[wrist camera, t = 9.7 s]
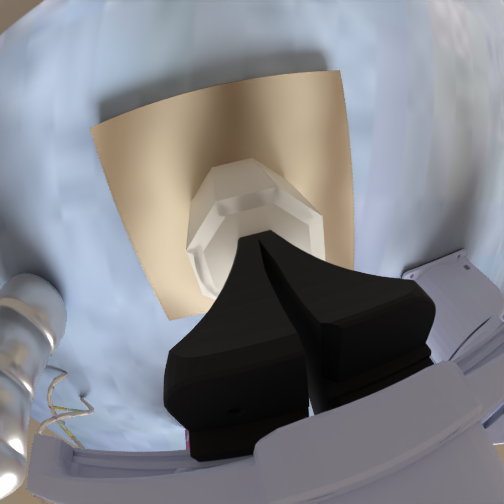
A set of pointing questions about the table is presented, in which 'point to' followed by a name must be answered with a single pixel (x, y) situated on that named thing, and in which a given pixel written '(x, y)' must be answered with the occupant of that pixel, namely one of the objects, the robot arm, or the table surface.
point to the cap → (245, 218)
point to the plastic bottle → (23, 364)
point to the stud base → (223, 152)
